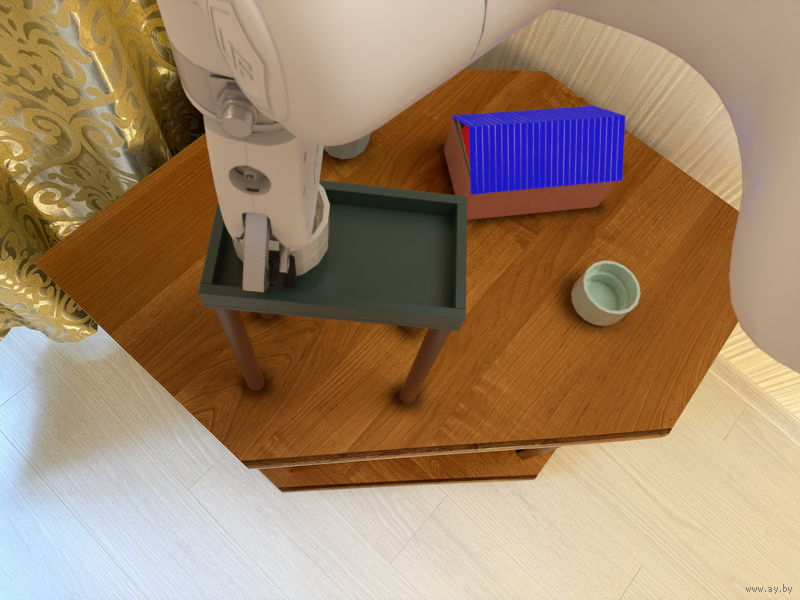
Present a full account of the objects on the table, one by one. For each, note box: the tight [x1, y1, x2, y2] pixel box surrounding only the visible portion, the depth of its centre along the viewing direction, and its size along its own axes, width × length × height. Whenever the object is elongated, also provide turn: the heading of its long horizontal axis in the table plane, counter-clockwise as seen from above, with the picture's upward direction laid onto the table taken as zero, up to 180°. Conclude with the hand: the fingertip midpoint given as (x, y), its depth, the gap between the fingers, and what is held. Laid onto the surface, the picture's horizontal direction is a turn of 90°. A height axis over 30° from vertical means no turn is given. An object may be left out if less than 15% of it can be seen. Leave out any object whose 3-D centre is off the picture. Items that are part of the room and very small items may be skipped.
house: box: [443, 105, 626, 221], centre depth 76 cm, size 12×20×12 cm, turn 100°
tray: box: [197, 179, 468, 405], centre depth 57 cm, size 11×19×27 cm, turn 87°
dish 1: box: [232, 184, 330, 276], centre depth 43 cm, size 7×7×4 cm
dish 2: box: [570, 260, 641, 327], centre depth 73 cm, size 7×7×4 cm
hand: (281, 234), depth 44 cm, fingers closed on dish 1, 7 cm apart
